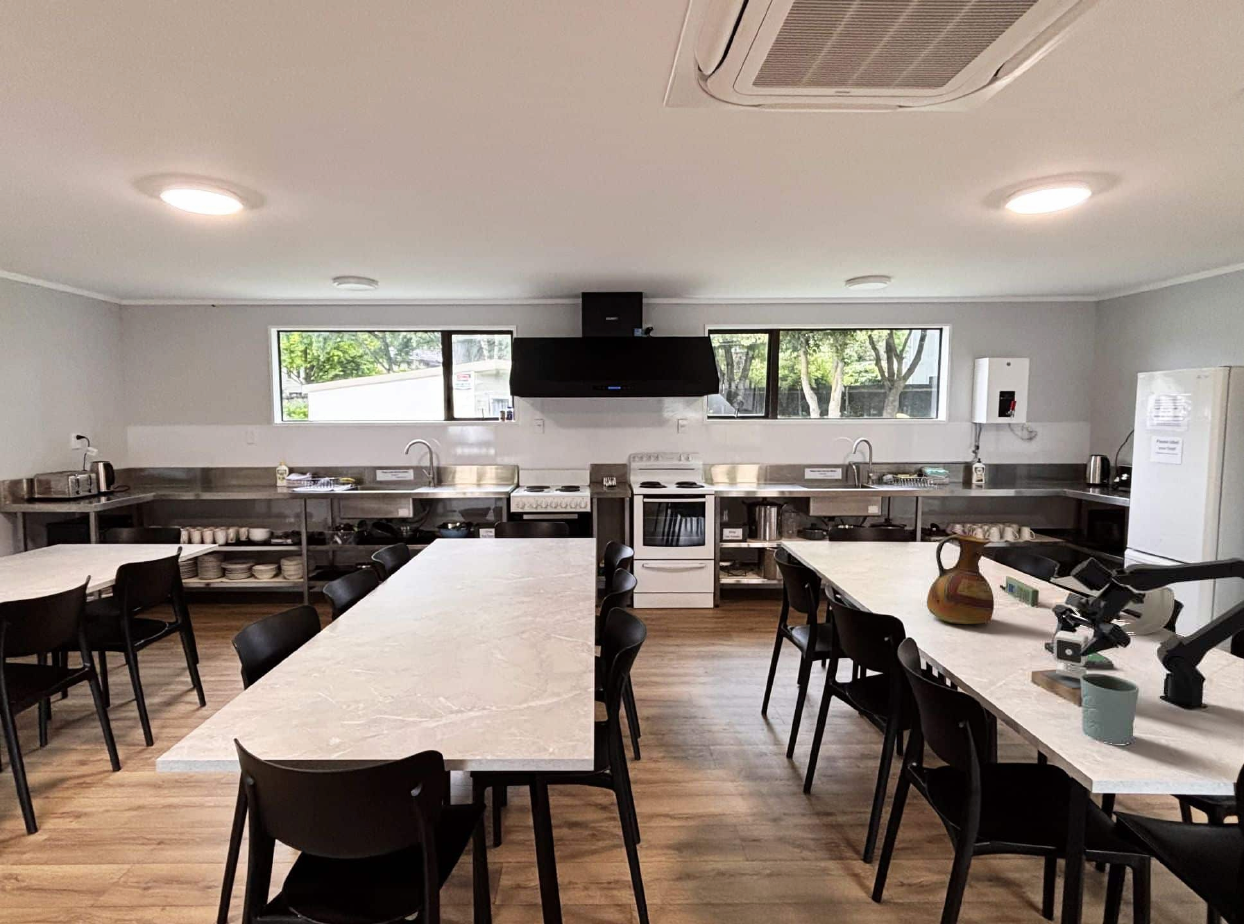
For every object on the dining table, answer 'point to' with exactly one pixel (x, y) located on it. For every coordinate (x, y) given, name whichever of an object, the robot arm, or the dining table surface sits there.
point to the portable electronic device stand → (1137, 606)
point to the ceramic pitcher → (962, 585)
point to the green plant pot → (1108, 707)
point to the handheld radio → (1021, 591)
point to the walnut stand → (1059, 684)
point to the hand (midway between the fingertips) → (1066, 649)
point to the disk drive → (1089, 659)
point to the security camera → (1070, 653)
